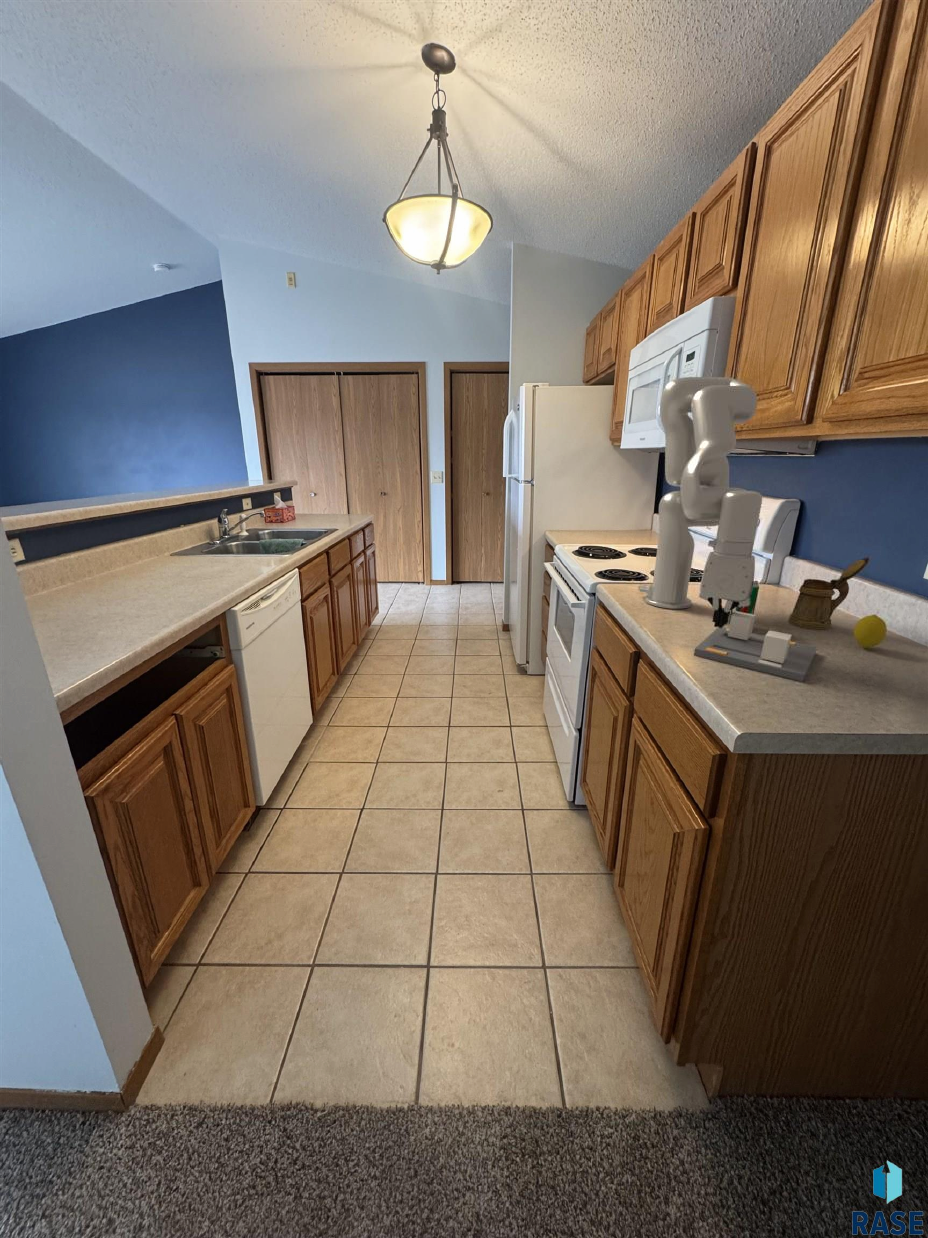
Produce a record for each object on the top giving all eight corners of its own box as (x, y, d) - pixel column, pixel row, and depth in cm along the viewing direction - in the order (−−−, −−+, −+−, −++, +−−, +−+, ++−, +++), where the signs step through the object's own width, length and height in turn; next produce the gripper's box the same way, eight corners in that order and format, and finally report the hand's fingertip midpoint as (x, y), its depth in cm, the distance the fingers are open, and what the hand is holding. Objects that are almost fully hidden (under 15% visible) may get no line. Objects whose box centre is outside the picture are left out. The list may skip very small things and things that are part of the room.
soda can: (753, 631, 122) (763, 583, 118) (731, 629, 123) (740, 582, 119) (747, 624, 126) (756, 578, 122) (725, 623, 127) (734, 577, 123)
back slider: (727, 636, 113) (731, 615, 112) (732, 631, 116) (736, 611, 114) (747, 640, 111) (751, 619, 109) (751, 635, 114) (755, 614, 112)
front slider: (760, 658, 101) (765, 635, 99) (764, 652, 104) (769, 630, 102) (782, 663, 99) (788, 640, 97) (786, 657, 101) (791, 634, 100)
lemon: (852, 641, 115) (861, 609, 112) (882, 648, 111) (892, 614, 109) (847, 648, 111) (856, 614, 109) (878, 655, 108) (889, 620, 105)
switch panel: (693, 654, 107) (695, 647, 107) (717, 632, 121) (718, 625, 120) (802, 681, 95) (804, 673, 94) (815, 653, 108) (817, 646, 108)
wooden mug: (856, 634, 120) (877, 561, 114) (792, 627, 124) (808, 556, 119) (844, 623, 128) (863, 554, 122) (784, 616, 132) (799, 550, 126)
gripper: (692, 546, 112) (681, 623, 118) (768, 555, 102) (751, 638, 108) (703, 542, 117) (691, 615, 123) (775, 550, 108) (759, 629, 114)
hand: (719, 625), depth 116 cm, fingers closed
